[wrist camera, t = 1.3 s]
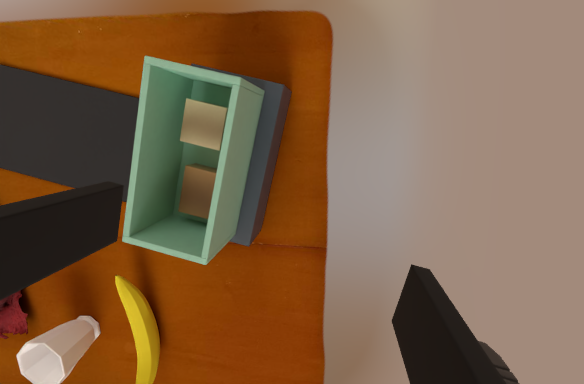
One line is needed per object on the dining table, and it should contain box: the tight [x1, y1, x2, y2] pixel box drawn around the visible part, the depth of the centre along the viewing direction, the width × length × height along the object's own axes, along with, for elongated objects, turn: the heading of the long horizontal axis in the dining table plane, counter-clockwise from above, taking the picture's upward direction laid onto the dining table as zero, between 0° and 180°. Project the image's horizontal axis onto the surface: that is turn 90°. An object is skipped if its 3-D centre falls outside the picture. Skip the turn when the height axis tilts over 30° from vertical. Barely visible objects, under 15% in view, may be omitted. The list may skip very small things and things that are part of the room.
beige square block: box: [180, 98, 228, 151], centre depth 31 cm, size 4×4×4 cm
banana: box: [115, 275, 160, 384], centre depth 44 cm, size 3×19×6 cm, turn 6°
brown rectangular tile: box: [178, 163, 217, 219], centre depth 34 cm, size 5×4×2 cm
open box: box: [122, 56, 265, 265], centre depth 31 cm, size 16×8×8 cm, turn 167°
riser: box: [191, 64, 292, 246], centre depth 38 cm, size 18×10×6 cm, turn 167°
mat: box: [0, 65, 140, 202], centre depth 43 cm, size 14×31×1 cm, turn 77°
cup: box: [17, 316, 101, 384], centre depth 45 cm, size 7×10×8 cm
